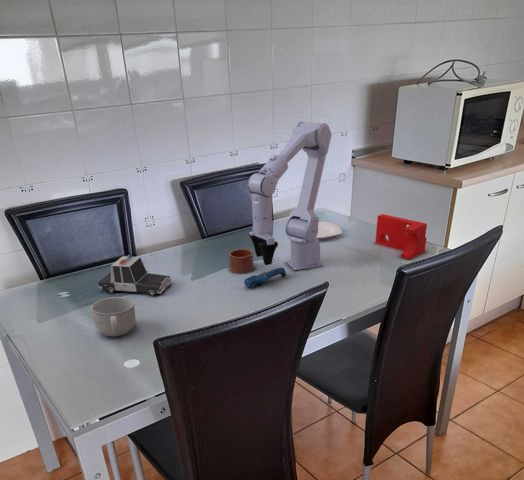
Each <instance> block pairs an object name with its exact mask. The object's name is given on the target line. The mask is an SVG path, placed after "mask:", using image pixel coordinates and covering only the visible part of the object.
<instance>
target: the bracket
mask: <svg viewBox="0 0 524 480" xmlns="http://www.w3.org/2000/svg"><path fill="white" fill-rule="evenodd" d="M376 218H377V219H376V228H375V229H376V230H375V242H374V243H375V244H376V245H379V246H384V247H388V248H391V249H396V250H399V251H403V252H402V253H401V254H400V259H405V260H412V259H413V258H415V257H417V256H419V255H421V254H423V253H425V252H426V246H427V237H426V234H427V228H428V223H426V222H421V221H417V220H412V219H407V218H403V217H398V216H394V215H388V214H385V213H381V214H379V215H377V217H376Z"/></svg>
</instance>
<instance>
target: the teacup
mask: <svg viewBox="0 0 524 480" xmlns="http://www.w3.org/2000/svg"><path fill="white" fill-rule="evenodd" d="M90 309H91V311H92V312H91V313H92V317H93V322H94V325H95V328H96V330H97V331H99V332H100V333H101V334H104V335H105V336H108V337H121V336H124V335H126V334H127V333H130V331H131V330H132V329H134V326H135V325H136V310H135V301H134V300H132V299H131V298H128V297H124V296H111V297H105V298H101V299H99V300H96V301H95V302H94V303H92V305H91V307H90Z"/></svg>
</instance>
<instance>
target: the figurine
mask: <svg viewBox="0 0 524 480" xmlns="http://www.w3.org/2000/svg"><path fill="white" fill-rule="evenodd" d="M279 275H281V277H283V278H285V277H286V276H287V272H286V270H285V268H284V267H283V266H281V267H276V268H274V269H271V270H268V271H263V272H261V273H259V274H257V275H251V276H248V277H246V278H245V279H244V282H243V283H244V285H245V287H246V288H249V289H250V288H254V287H255V285H262V284H263V283H265V282H267V281H269V280H271V279H272V278H273V277H276V276H279Z"/></svg>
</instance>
